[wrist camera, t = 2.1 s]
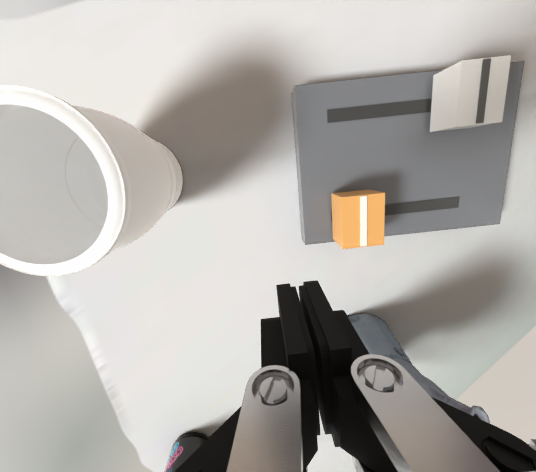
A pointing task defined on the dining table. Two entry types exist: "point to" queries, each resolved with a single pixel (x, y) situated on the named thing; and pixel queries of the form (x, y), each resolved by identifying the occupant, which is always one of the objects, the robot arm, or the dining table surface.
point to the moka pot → (402, 358)
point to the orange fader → (358, 218)
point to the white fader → (469, 94)
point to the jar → (75, 183)
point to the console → (398, 154)
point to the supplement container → (184, 449)
